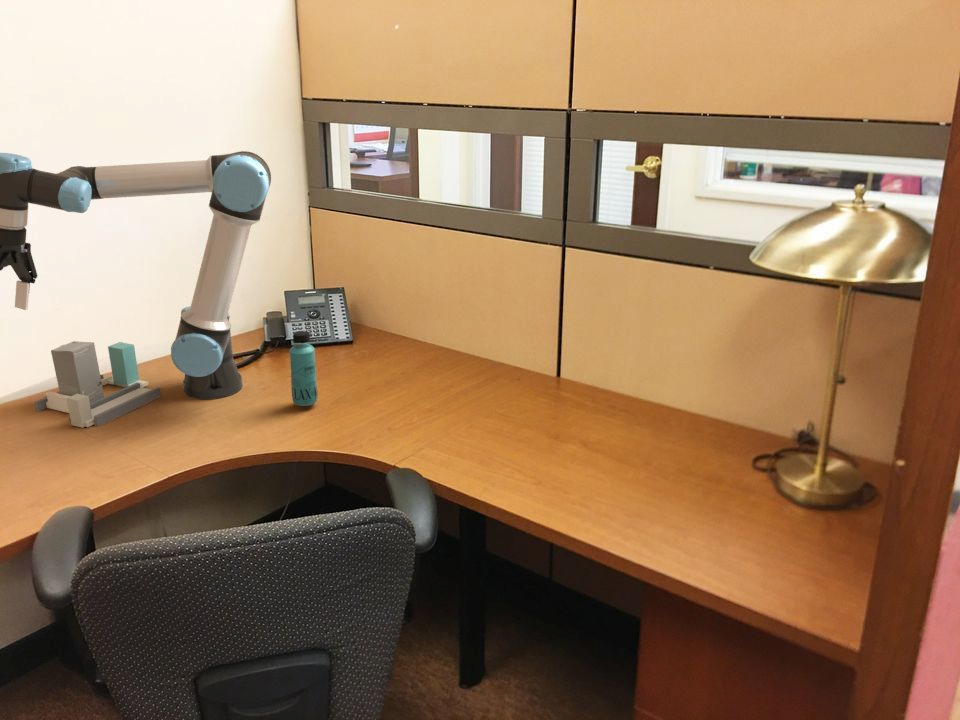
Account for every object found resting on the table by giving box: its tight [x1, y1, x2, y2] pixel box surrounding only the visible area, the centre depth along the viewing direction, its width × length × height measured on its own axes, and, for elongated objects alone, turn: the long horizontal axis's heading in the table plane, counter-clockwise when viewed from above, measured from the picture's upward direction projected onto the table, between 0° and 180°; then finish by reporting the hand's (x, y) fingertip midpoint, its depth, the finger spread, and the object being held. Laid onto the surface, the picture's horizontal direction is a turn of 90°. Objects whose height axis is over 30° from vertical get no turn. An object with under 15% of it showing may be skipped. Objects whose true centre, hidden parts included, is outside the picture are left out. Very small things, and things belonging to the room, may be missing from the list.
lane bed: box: [34, 374, 162, 427], centre depth 193 cm, size 21×20×2 cm
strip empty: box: [67, 387, 152, 429], centre depth 189 cm, size 5×22×7 cm, turn 157°
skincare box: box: [50, 340, 105, 403], centre depth 190 cm, size 8×7×16 cm
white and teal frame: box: [46, 341, 149, 414], centre depth 195 cm, size 11×22×11 cm, turn 157°
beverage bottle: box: [289, 330, 319, 407], centre depth 191 cm, size 6×7×20 cm
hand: (1, 314), depth 174 cm, fingers open, 13 cm apart
